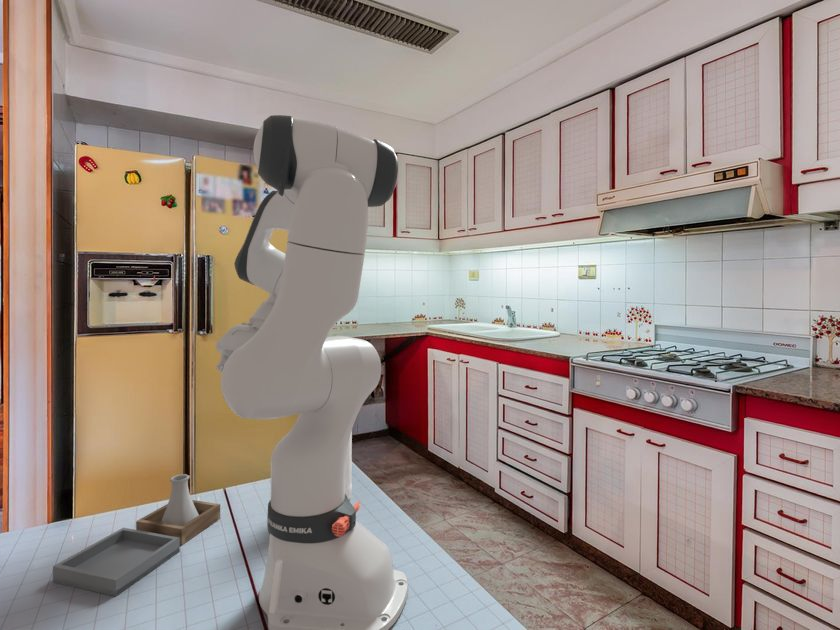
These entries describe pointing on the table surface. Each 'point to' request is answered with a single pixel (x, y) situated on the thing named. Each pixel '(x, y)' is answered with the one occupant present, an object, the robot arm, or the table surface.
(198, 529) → the shaker holder
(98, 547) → the tray
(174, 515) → the flask
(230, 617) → the table surface
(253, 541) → the table surface
